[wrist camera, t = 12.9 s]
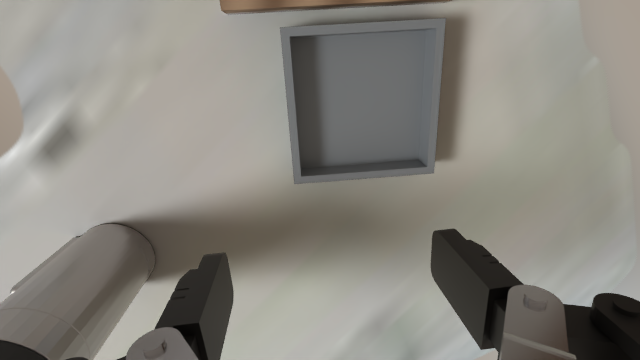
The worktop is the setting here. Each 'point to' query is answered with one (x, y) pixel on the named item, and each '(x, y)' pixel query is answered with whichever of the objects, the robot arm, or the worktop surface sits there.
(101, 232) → the robot arm
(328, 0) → the pallet
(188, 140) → the worktop surface
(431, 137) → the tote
